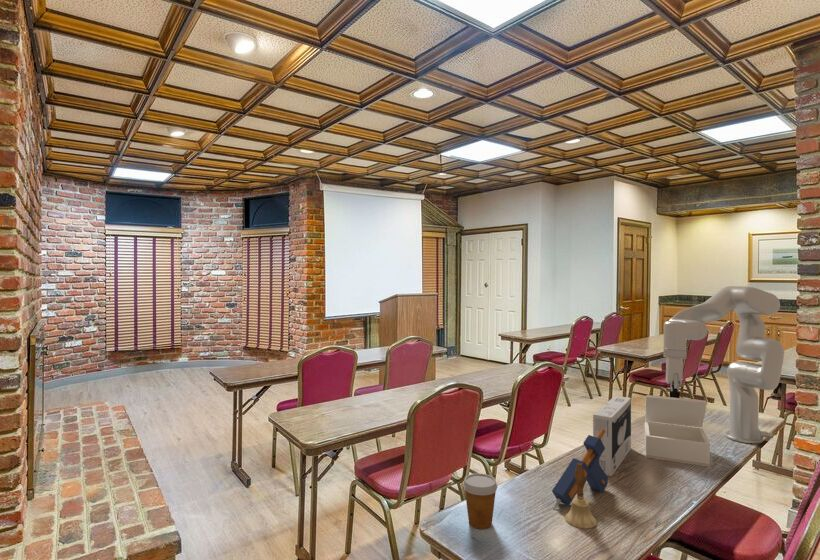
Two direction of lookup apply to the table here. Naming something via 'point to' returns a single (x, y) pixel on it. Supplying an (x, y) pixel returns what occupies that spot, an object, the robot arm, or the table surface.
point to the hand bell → (580, 505)
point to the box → (677, 444)
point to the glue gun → (592, 470)
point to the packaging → (614, 432)
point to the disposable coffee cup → (480, 499)
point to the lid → (675, 410)
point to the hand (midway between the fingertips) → (674, 401)
